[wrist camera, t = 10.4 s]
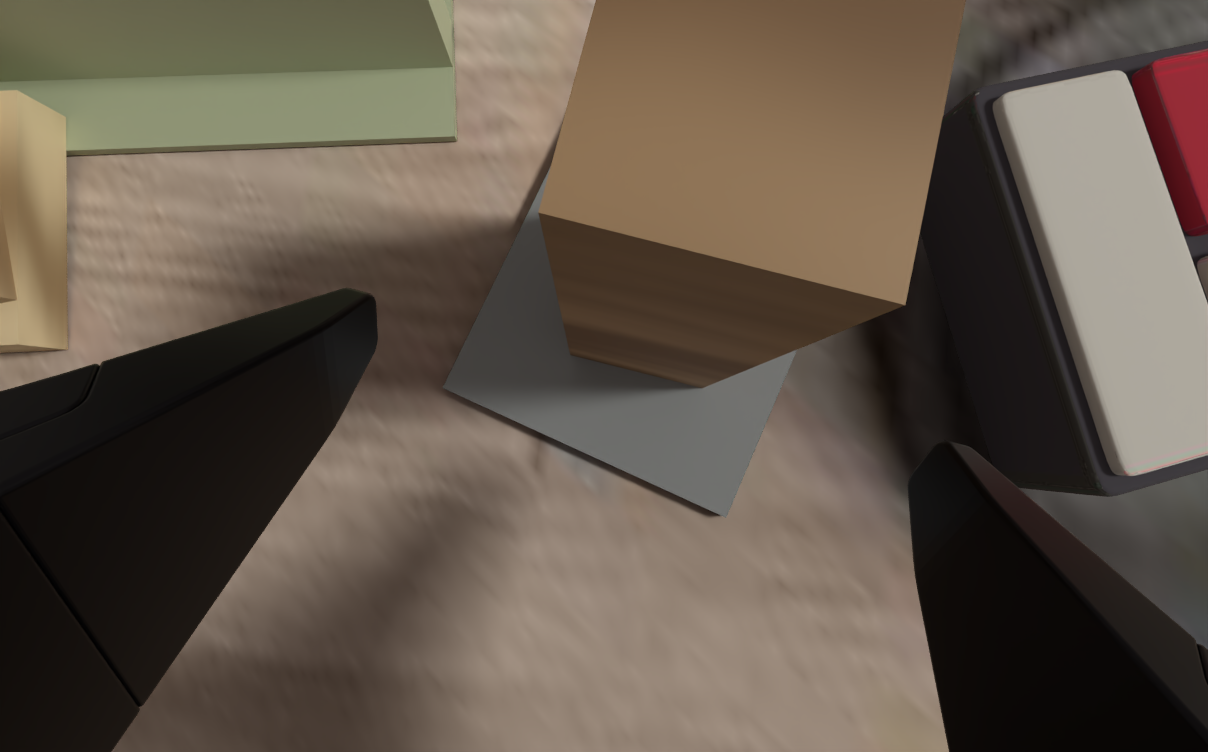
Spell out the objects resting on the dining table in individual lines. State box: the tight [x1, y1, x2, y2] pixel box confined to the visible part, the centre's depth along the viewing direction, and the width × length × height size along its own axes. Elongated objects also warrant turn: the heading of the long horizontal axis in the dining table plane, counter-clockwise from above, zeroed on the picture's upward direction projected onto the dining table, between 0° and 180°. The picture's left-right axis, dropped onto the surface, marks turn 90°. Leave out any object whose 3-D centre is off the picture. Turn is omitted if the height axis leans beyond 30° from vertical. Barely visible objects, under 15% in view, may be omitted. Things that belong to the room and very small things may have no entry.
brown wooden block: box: [538, 0, 966, 388], centre depth 12 cm, size 4×4×11 cm
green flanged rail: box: [0, 0, 457, 156], centre depth 16 cm, size 5×18×5 cm, turn 93°
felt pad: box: [443, 167, 797, 518], centre depth 18 cm, size 10×9×1 cm
